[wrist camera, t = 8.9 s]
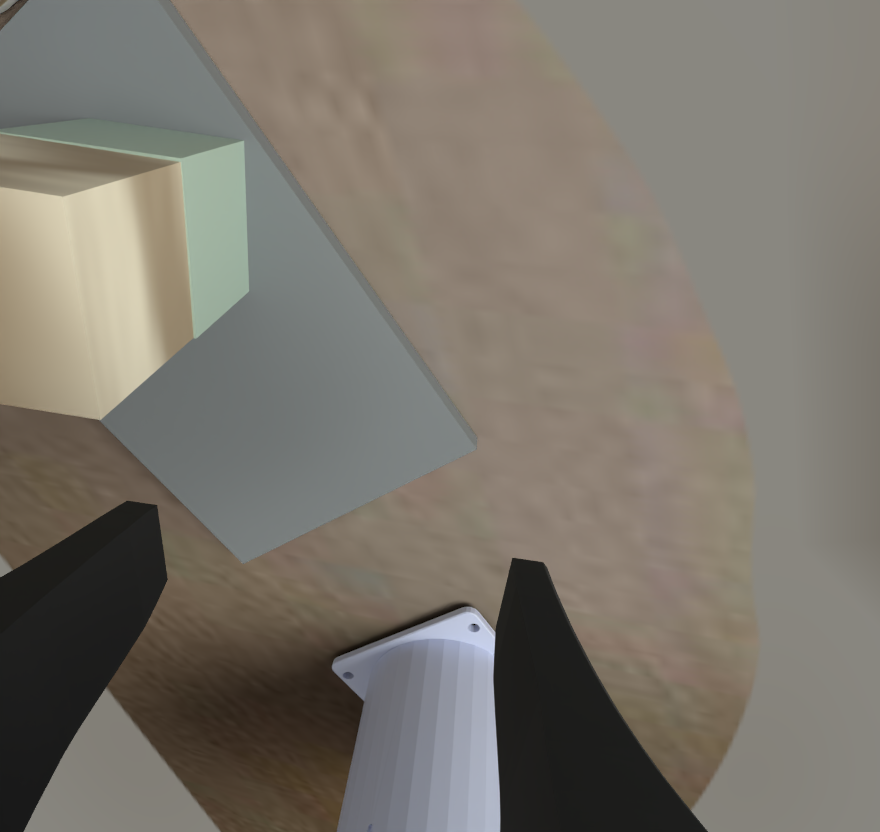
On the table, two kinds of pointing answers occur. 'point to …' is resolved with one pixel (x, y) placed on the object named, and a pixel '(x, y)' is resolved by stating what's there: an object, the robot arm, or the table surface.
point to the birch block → (88, 274)
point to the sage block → (205, 200)
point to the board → (243, 302)
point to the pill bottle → (6, 5)
